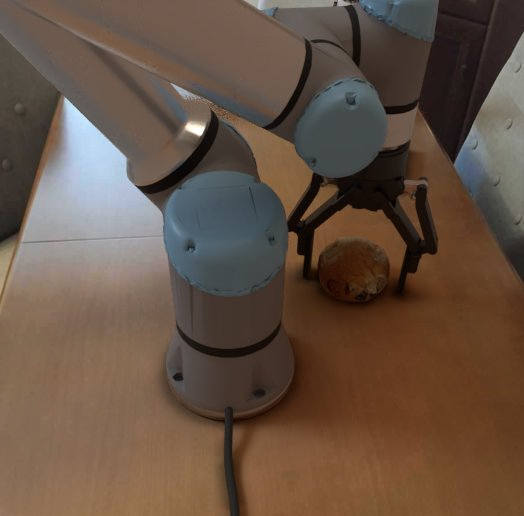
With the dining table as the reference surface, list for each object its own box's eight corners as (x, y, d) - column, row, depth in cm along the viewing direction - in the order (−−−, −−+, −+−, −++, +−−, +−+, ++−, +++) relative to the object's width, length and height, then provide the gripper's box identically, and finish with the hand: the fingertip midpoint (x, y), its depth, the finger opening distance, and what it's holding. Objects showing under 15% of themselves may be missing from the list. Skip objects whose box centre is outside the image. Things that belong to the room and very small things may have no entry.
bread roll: (382, 287, 88) (390, 233, 85) (390, 309, 79) (399, 249, 76) (315, 282, 89) (320, 228, 86) (315, 302, 79) (321, 243, 76)
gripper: (488, 134, 68) (443, 277, 84) (278, 107, 72) (273, 249, 88) (489, 167, 63) (441, 313, 79) (264, 137, 67) (261, 282, 83)
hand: (352, 280), depth 83 cm, fingers open, 12 cm apart
